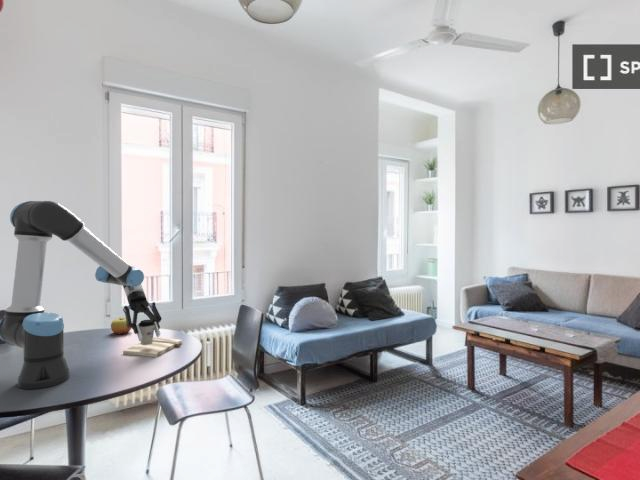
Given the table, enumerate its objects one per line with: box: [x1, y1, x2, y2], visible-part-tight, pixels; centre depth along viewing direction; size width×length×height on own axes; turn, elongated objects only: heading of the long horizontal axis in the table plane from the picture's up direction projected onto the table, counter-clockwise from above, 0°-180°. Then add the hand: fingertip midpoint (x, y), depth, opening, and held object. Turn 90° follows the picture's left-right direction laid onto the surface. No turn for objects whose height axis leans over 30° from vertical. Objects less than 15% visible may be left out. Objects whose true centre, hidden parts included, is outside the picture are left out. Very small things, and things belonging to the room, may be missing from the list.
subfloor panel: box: [122, 336, 183, 358], centre depth 174 cm, size 20×19×2 cm
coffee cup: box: [137, 319, 155, 345], centre depth 169 cm, size 7×7×10 cm
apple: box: [110, 317, 133, 335], centre depth 197 cm, size 10×10×8 cm
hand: (149, 337), depth 166 cm, fingers closed on coffee cup, 7 cm apart
